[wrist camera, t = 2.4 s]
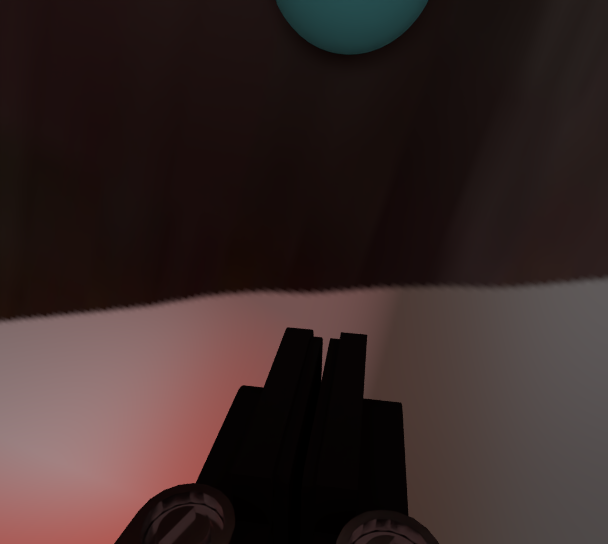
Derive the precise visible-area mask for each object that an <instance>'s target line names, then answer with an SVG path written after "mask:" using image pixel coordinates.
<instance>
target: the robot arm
mask: <svg viewBox="0 0 608 544" xmlns="http://www.w3.org/2000/svg"><path fill="white" fill-rule="evenodd" d="M313 335H314V334H313V330H310V329H299V328H287V329H286V331H285V333H284V336H283V338H282V341H281V344H280V346H279V349H278V351H277V354H276V357H275V359H274V362H273V364H272V367H271V370H270V372H269V375H268V378H267V380H266V383H265V385H264V388H262V387H254V386H245V385H243V386H241V387H240V389H239V390H238V392H237V394H236V396H235V399H234V401H233V403H232V405H231V407H230V409H229V412H228V414H227V416H226V418H225V421H224V423H223V425H222V427H221V429H220V431H219V433H218V436H217V438H216V440H215V442H214V444H213V447H212V449H211V451H210V453H209V455H208V458H207V460H206V462H205V464H204V466H203V468H202V471H201V473H200V475H199V477H198V480H197V481H196V483H192V484H183V485H177V486H175V487H172V488H169V489H166V490H164V491H162V492H161V493H159V494H157V495H156V496H154V497H153V498H151V499H150V500H149V501H148V502H147V503H146V504H145V505H144V506H143V507H142V508H141V509H140V510H139V511H138V513H137V514H136V515H135V517H134V518H133V519H132V521H131V522H130V523H129V525H128V526H127V527H126V529H125V530H124V531H123V533H122V534H121V535H120V537H119V538H118V539H117V541H116V542H115V543H114V544H439V543H438V541H437V540H436V539H435V537H434V536H433V535H432V534H431V533H430V531H429V530H428V529H427V528H426V527H424V526H423V525H422V524H420V523H419V522H418V521H416V520H415V519H414V518H411V517H409V516H408V501H407V483H406V465H405V447H404V429H403V412H402V404H401V403H399V402H389V401H381V400H372V399H363V393H364V376H365V361H366V345H367V335H364V334H353V333H343V332H341V336H340V339H332V338H331V339H330V342H329V347H328V352H327V356H326V362H325V366H324V371H323V377H322V381H321V374H322V373H321V372H322V345H323V339H322V337H314V336H313Z"/></svg>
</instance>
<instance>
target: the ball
mask: <svg viewBox="0 0 608 544" xmlns="http://www.w3.org/2000/svg"><path fill="white" fill-rule="evenodd" d="M276 2H277V5H278V7H279V9H280V11H281V12H282V14H283V16H284V17H285V19H286V20H287V21H288V23H289V24H290V25H291V27H292V28H293V29H294V30H295V31H296V32H297V33H298V34H299V35H300V36H301V37H303V38H304V39H305V40H306V41H308V42H309V43H311V44H313V45H314V46H316V47H318V48H320V49H323V50H325V51H328V52H332V53H337V54H346V55H352V54H362V53H367V52H371V51H374V50H376V49H379V48H381V47H383V46H385V45H387V44H389V43H391V42H392V41H394V40H395V39H397V38H398V37H399V36H401V35H402V34H403V33H404V32H405V31H406V30H407V29H408V28H409V27H410V26H411V25H412V24H413V23H414V22H415V21H416V19H417V18H418V16H419V15H420V14H421V12H422V11H423V9H424V7H425V6H426V4H427V2H428V0H276Z"/></svg>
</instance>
